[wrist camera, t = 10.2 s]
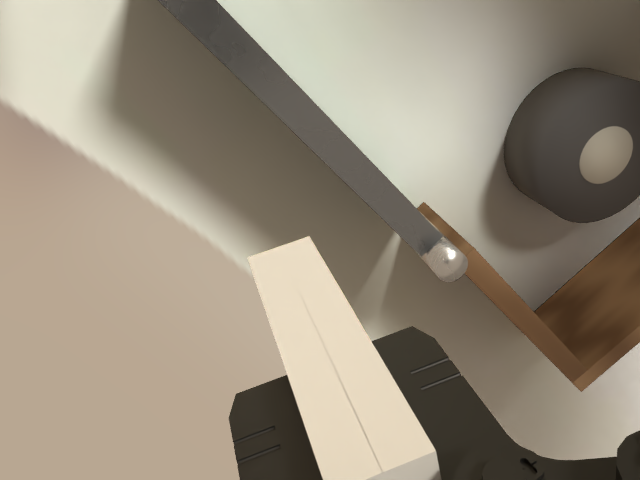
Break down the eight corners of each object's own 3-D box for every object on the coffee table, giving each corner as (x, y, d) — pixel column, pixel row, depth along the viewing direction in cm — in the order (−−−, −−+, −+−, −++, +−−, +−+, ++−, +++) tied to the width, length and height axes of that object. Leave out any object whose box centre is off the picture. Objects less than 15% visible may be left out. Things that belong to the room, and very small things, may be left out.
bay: (671, -36, 31) (777, -34, 25) (748, 138, 37) (844, 168, 32) (408, 216, 33) (456, 265, 28) (525, 335, 40) (581, 391, 35)
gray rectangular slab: (133, -30, 24) (127, -24, 18) (158, -59, 24) (160, -63, 18) (394, 226, 33) (449, 288, 27) (414, 207, 33) (474, 264, 27)
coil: (588, 36, 31) (637, 46, 28) (643, 134, 35) (690, 152, 32) (479, 140, 32) (514, 160, 29) (543, 223, 36) (580, 249, 33)
